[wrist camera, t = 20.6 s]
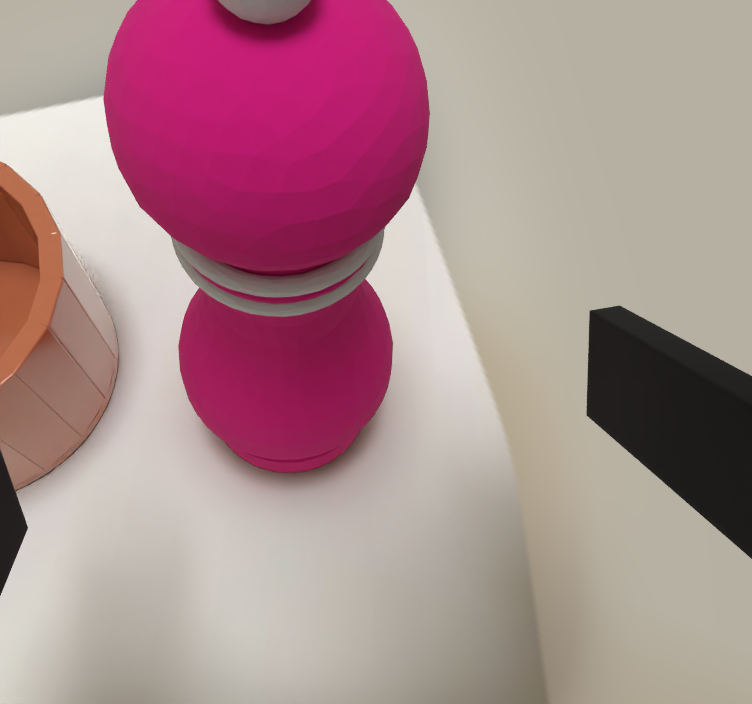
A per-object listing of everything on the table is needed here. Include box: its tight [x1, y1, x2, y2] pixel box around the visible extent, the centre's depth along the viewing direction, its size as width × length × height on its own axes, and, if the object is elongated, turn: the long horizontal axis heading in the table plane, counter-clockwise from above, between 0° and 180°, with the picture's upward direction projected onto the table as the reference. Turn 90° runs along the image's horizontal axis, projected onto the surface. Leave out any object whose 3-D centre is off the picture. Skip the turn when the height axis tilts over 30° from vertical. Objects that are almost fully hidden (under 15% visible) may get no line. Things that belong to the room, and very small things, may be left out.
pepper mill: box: [104, 0, 430, 473], centre depth 18 cm, size 7×7×20 cm
